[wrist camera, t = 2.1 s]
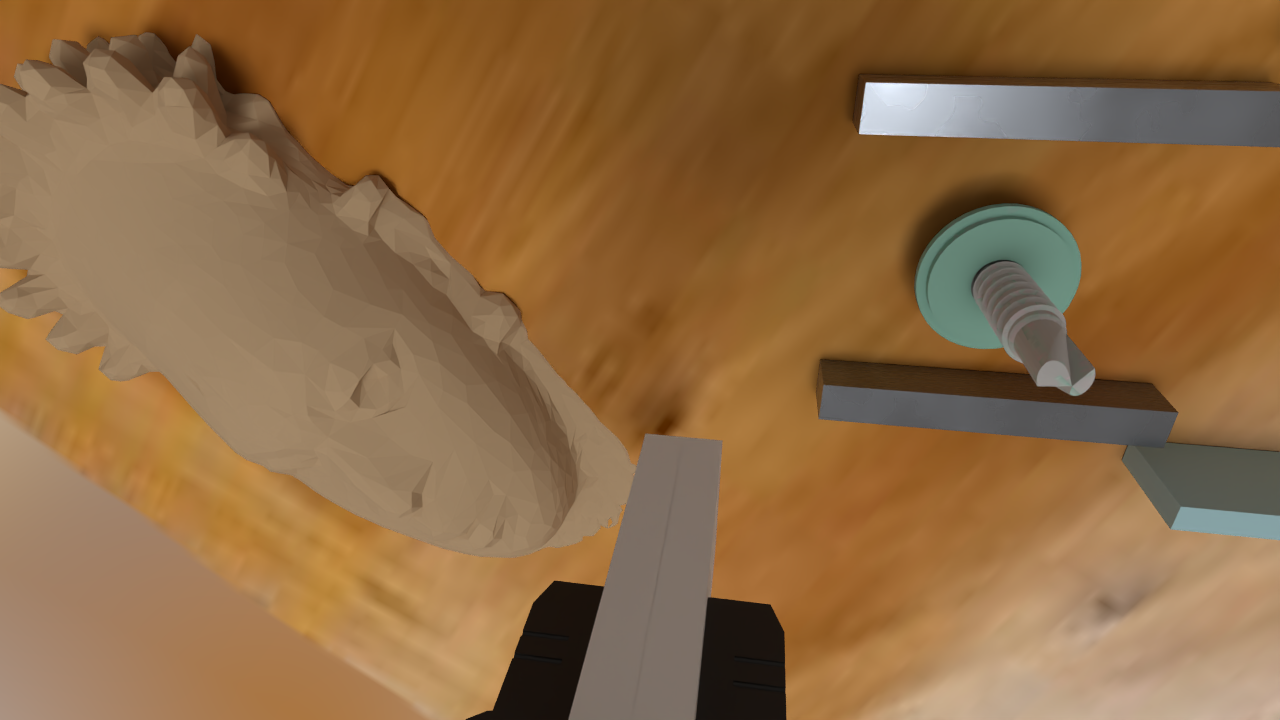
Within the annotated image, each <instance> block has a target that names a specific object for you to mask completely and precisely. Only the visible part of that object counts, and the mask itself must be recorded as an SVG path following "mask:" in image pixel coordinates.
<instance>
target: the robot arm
mask: <svg viewBox="0 0 1280 720" xmlns="http://www.w3.org/2000/svg"><path fill="white" fill-rule="evenodd" d="M721 454H722V441H721V440H710V439H698V438H687V437H676V436H665V435H654V434H645V438H644V442H643V445H642V449H641V453H640V457H639V460H638V464H637V468H636V471H635V475H634V479H633V482H632V486H631V490H630V494H629V497H628V501H627V505H626V508H625V512H624V516H623V519H622V523H621V527H620V531H619V534H618V538H617V542H616V545H615V549H614V553H613V556H612V560H611V564H610V568H609V571H608V575H607V579H606V582H605V586H604V587H603V586H595V585H587V584H578V583H570V582H562V581H554V582H553V583H552V584H551V585H550V586H549V587H548V588H547V589H546V590H545V591H544V592H543V593H542V594H541V595H540V596H539V597H538V598H537V600H536V601H535V602H534V603H533V605H532V608H531V610H530V613H529V616H528V618H527V621H526V624H525V626H524V629H523V635H522V636H521V637H520V640H519V642H518V645H517V648H516V650H515V655H514V659H512V661H511V664H510V666H509V669H508V672H507V674H506V677H505V679H504V682H503V685H502V687H501V690H500V693H499V695H498V698H497V701H496V703H495V706H494V709H493V711H486V712H483V713H481V714H478V715H475V716H473V717H470V718H468V719H466V720H786V694H785V688H786V686H785V641H784V631H783V629H782V627H781V625H780V623H779V621H778V619H777V617H776V615H775V613H774V611H773V609H772V607H771V605H770V604H761V603H753V602H744V601H736V600H728V599H719V598H711V588H712V577H713V567H714V556H715V545H716V530H717V515H718V499H719V484H720V469H721Z"/></svg>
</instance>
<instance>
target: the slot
mask: <svg viewBox="0 0 1280 720" xmlns="http://www.w3.org/2000/svg"><path fill="white" fill-rule="evenodd" d="M853 124H854V126H855V128H856V130H857V132H858V134H872V135H904V136H936V137H969V138H1001V139H1033V140H1065V141H1098V142H1130V143H1162V144H1194V145H1227V146H1259V147H1280V84H1276V83H1272V82H1238V81H1187V80H1137V79H1086V78H1036V77H985V76H935V75H884V74H859V78H858V85H857V93H856V100H855V107H854V115H853ZM816 397H817V407H818V417H819V419H824V420H836V421H848V422H860V423H872V424H883V425H895V426H907V427H919V428H931V429H942V430H954V431H966V432H978V433H990V434H1001V435H1013V436H1025V437H1037V438H1049V439H1060V440H1072V441H1084V442H1096V443H1108V444H1119V445H1131V446H1143V447H1155V448H1164V446H1165V443H1166V441H1167V439H1168V436H1169V434H1170V432H1171V429H1172V427H1173V424H1174V422H1175V420H1176V417H1177V415H1178V412H1177V411H1176V409H1175V408H1174V407H1173V406H1172V405H1171V404H1170V403H1169V402H1168V401H1167V400H1166V398H1165V397H1164V396H1163V395H1162V394H1161V393H1160V392H1159V391H1158V390H1157V389H1156V388H1155V386H1154V385H1153V384H1149V383H1136V382H1122V381H1108V380H1095V379H1094V381H1093V383H1092V385H1091V386H1090V388H1089V389H1088V390H1087V391H1086V392H1084V393H1083V394H1081V395H1078V396H1072V395H1070V394H1068V393H1066V392H1064V391H1062V390H1060V389H1059V388H1057V387H1055V386H1037V385H1036V383H1035V382H1034V380H1033V378H1032V377H1031V375H1027V374H1013V373H999V372H986V371H972V370H959V369H945V368H931V367H918V366H904V365H891V364H877V363H863V362H850V361H836V360H823V359H820V366H819V373H818V381H817V388H816Z"/></svg>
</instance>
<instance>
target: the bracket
mask: <svg viewBox="0 0 1280 720" xmlns="http://www.w3.org/2000/svg"><path fill="white" fill-rule="evenodd" d="M1122 461H1123V463H1124V464H1125V466H1126V467H1127V468H1128V470H1129V471H1130V473H1131V474H1132V475H1133V477H1134V478H1135V480H1136V481H1137V483H1138V484H1139V485H1140V487H1141V488H1142V490H1143V491H1144V492H1145V494H1146V495H1147V497H1148V498H1149V499H1150V501H1151V502H1152V504H1153V505H1154V507H1155V508H1156V509H1157V511H1158V512H1159V514H1160V515H1161V516H1162V518H1163V519H1164V521H1165V522H1166V523H1167V525H1168V526H1169V528H1170V529H1173V530H1183V531H1193V532H1203V533H1213V534H1223V535H1233V536H1244V537H1254V538H1264V539H1274V540H1280V452H1273V451H1261V450H1249V449H1237V448H1225V447H1213V446H1201V445H1189V444H1177V443H1165V446H1164V448H1155V447H1143V446H1131V445H1128V446H1127V449H1126V451H1125V454H1124V457H1123V459H1122Z"/></svg>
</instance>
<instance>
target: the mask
mask: <svg viewBox="0 0 1280 720" xmlns="http://www.w3.org/2000/svg"><path fill="white" fill-rule="evenodd" d="M49 58H50V60H51V61H52V63H53V65H51V64H48V63H45V62H42V61H38V60H25V62H24V64H17V68H16V71H15V75H14V77H15V79H16V81H17V82H18V84H19V85H20V87H21V88H22V90H20V89H16V88H13V87H9V86H6V85H3V84H0V268H9V269H25V270H28V274H27V277H25V278H23V279H22V280H20V281H19V282H17V283H15V284H14V285H12V286H11V287H9V288H7V289H6V290H4V291H2V292H1V293H0V307H1V308H3V309H4V310H5V311H7V312H8V313H11V314H14V315H17V316H20V317H23V318H26V319H29V318H34V317H37V316H41V315H44V314H47V313H50V312H53V311H56V312H59V313H61V314H63V316H62V317H61V318H60V319H59V321H58V322H57V323H56V325H55V326H54V327H53V329H52V330H51V331H50V333H49V335H48V336H47V338H46V340H47V341H48V342H49V343H50V344H52V345H53V346H54V347H55V348H56V349H58V350H61V351H65V352H70V353H74V354H79V353H81V352H83V351H85V350H88V349H90V348H92V347H95V346H106V347H105V350H104V353H103V356H102V360H101V363H100V366H99V370H100V371H101V372H102V373H103V374H105V375H106V376H107V377H108V378H109V379H110V380H114V381H127V380H131V379H133V378H136V377H138V376H141V375H143V374H146V373H148V372H161V373H162V374H163V375H164V376H165V377H166V378H167V379H168V380H169V382H170V383H171V384H172V385H173V386H174V387H175V388H176V389H177V391H178V392H179V393H180V394H181V395H182V396H183V397H184V399H185V400H186V401H187V402H188V403H189V404H190V406H191V407H192V408H193V409H194V410H195V411H196V412H197V413H198V414H199V415H200V417H201V418H202V419H203V420H204V421H205V422H206V423H207V424H208V425H209V426H210V427H211V428H212V429H213V430H214V431H215V432H216V433H217V434H218V435H219V436H220V437H221V438H222V439H223V440H224V441H225V442H226V444H227V445H228V446H230V447H231V448H232V449H233V450H234V451H235V452H236V453H237V454H239V455H240V456H242V457H243V458H245V459H246V460H248V461H251V462H254V463H257V464H259V465H262V466H264V467H265V468H267V469H268V470H269V471H271V472H276V473H281V474H288V475H292V476H294V477H295V478H297V479H299V480H300V481H302V482H303V483H304V484H306V485H307V486H308V487H310V488H311V489H313V490H314V491H315V492H317V493H318V494H320V495H322V496H323V497H325V498H327V499H328V500H330V501H331V502H333V503H335V504H337V505H339V506H340V507H342V508H344V509H346V510H348V511H350V512H351V513H353V514H355V515H357V516H360V517H362V518H364V519H366V520H369V521H371V522H373V523H375V524H377V525H380V526H382V527H384V528H387V529H390V530H393V531H395V532H398V533H401V534H403V535H406V536H409V537H412V538H414V539H417V540H420V541H423V542H426V543H429V544H431V545H434V546H437V547H440V548H443V549H447V550H451V551H455V552H459V553H463V554H468V555H474V556H480V557H503V558H514V557H515V558H516V557H519V556H524V555H528V554H531V553H534V552H536V551H539V550H540V549H542V548H546V547H555V548H559V547H564V546H569V545H572V544H576V543H578V542H580V541H582V537H583V536H594V534H595V533H596V532H597V531H598V530H599V529H600V525H601V526H604V527H606V528H608V520H609V519H610V518H611V520H612V522H613V523H612V524H611V525H610V526H609V528H610V527H612V526H615V525H616V524H617V523H618V519H619V515H620V513H621V512H622V509H621V507H620V505H624V504H626V503H627V501H628V497H629V494H630V490H631V486H632V482H633V479H634V475H633V474H634V473H635V471H636V468H637V466H636V465H634V464H632V463H631V462H630V459H629V455H628V452H627V450H626V448H625V447H624V446H623V444H622V443H621V442H620V440H619V439H618V438H617V437H616V436H615V435H614V434H613V433H612V432H611V431H610V430H608V429H607V428H606V427H605V426H604V425H603V424H602V423H601V422H600V421H599V420H598V419H597V417H596V416H595V414H594V413H593V412H592V411H591V409H590V408H589V407H588V406H587V405H586V404H585V403H584V402H583V401H582V399H581V398H580V397H579V396H578V395H577V394H576V393H575V392H574V391H573V390H572V389H571V388H570V387H568V386H567V384H566V382H565V381H564V380H563V379H562V378H561V377H560V376H558V374H557V373H556V372H555V370H554V369H553V368H552V367H551V365H550V364H549V363H548V362H547V360H546V359H545V358H544V356H543V355H542V354H541V353H540V351H539V350H538V349H537V348H536V347H535V346H534V345H533V344H532V343H531V342H530V341H529V340H528V336H527V330H526V328H525V326H524V324H523V322H522V320H521V312H520V310H519V309H518V308H517V307H516V306H515V305H514V304H513V303H512V302H511V301H510V300H509V299H508V298H507V297H506V296H505V295H504V294H503V293H497V292H487V291H484V289H483V288H481V287H480V286H479V285H478V283H477V281H476V280H475V278H474V277H473V275H471V274H470V273H469V272H468V271H467V270H466V269H465V268H464V267H463V266H461V265H460V264H459V263H458V262H457V261H456V260H455V259H453V258H452V257H451V256H450V255H449V253H448V252H447V251H446V250H445V249H444V248H443V247H442V246H441V245H440V243H439V242H438V241H437V240H436V239H435V237H434V235H433V232H432V230H431V228H430V225H429V223H428V221H427V220H426V219H425V218H424V216H423V215H422V214H420V213H419V212H418V211H416V210H415V209H414V208H412V207H411V206H410V205H408V204H407V203H405V202H404V201H402V200H401V199H399V198H397V197H396V196H395V195H394V194H393V193H392V191H391V190H390V189H389V188H388V187H387V185H386V184H385V183H384V182H383V180H382V179H381V178H380V176H379V175H366V176H365V177H364V178H363V179H362V180H361V181H359V182H358V183H357V184H356V185H355V186H348V185H346V184H344V183H343V182H342V181H341V180H339V179H338V178H336V177H335V176H334V175H332V174H331V173H330V172H328V171H327V170H326V169H325V168H324V167H322V166H321V165H320V164H319V163H318V162H316V161H315V160H314V159H313V158H312V157H311V156H310V155H309V154H308V153H307V152H306V151H305V149H304V148H303V147H302V146H301V145H300V144H299V143H298V142H297V140H296V139H295V138H294V137H293V136H292V135H291V134H290V133H289V132H288V131H287V130H286V128H285V127H284V125H283V124H282V122H281V120H280V118H279V117H278V115H277V113H276V112H275V110H274V108H273V107H272V105H271V103H270V102H269V101H268V100H267V99H265V98H264V97H262V96H261V95H258V94H246V93H241V94H235V95H234V94H231V93H229V92H226V91H225V90H224V89H223V87H222V86H221V85H220V83H219V82H218V81H217V79H216V70H215V62H214V57H213V53H212V49H211V45H210V44H209V43H208V42H207V41H205V40H204V39H203V38H201V37H200V36H199V35H197V34H196V36H195V39H194V41H193V44H192V46H191V47H190V46H189V47H188V48H187V49H185V50H184V51H183V52H182V53H181V54H180V55H179V56H178V58H177V61H176V62H175V60H174V59H173V58H172V57H171V55H170V54H169V52H168V50H167V47H166V46H165V45H164V44H163V42H162V41H161V40H160V38H159V37H157V36H156V35H155V34H154V33H147V32H145V33H143V34H141V35H139V37H137V36H136V35H130V36H121V37H112V38H111V41H110V44H109V43H108V42H107V41H105V40H104V39H103V38H101V37H99V36H98V37H96V38H95V39H94V40H92V41H91V42H90V43H89V44H88V45H87V49H85V48H84V47H83V46H81V45H80V44H79V43H78V42H75V41H66V40H55V39H53V41H52V46H51V50H50V55H49Z"/></svg>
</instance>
